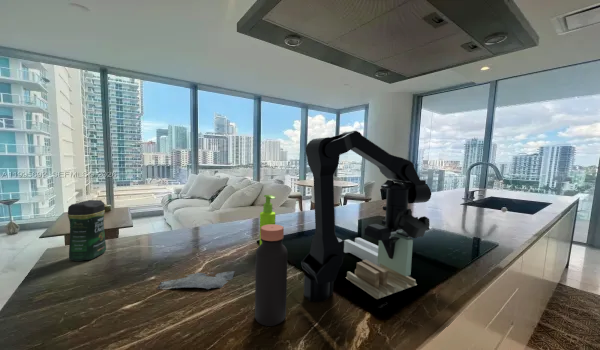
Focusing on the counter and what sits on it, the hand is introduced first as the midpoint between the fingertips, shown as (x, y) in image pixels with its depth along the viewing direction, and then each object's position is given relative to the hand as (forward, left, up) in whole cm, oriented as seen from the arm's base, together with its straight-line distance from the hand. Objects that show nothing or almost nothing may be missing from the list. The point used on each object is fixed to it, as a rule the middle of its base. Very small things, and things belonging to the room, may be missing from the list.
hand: (393, 257), depth 71 cm
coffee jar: (-80, +57, -7) cm, 98 cm away
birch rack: (-5, 0, -7) cm, 8 cm away
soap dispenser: (-23, +40, -7) cm, 46 cm away
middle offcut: (-8, 0, -6) cm, 10 cm away
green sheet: (0, 0, -3) cm, 3 cm away
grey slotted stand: (+4, +15, -7) cm, 17 cm away
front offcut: (-10, 0, -6) cm, 12 cm away
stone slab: (-49, +24, -8) cm, 56 cm away
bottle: (-38, +1, -7) cm, 38 cm away
